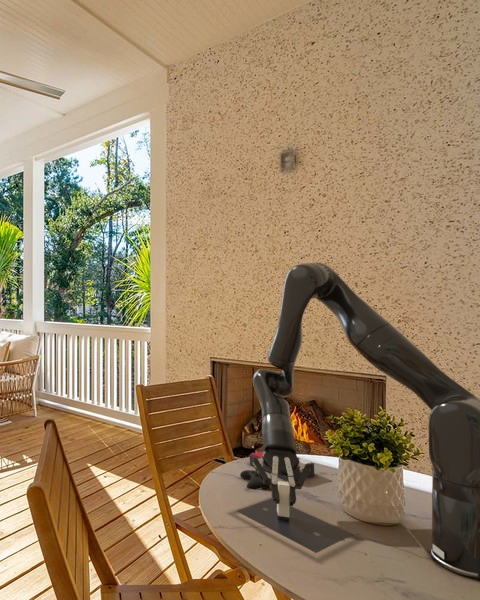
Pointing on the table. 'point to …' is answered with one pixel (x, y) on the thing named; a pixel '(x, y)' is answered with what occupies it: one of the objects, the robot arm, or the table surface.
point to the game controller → (253, 480)
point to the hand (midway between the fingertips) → (284, 503)
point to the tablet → (296, 526)
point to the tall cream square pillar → (283, 500)
